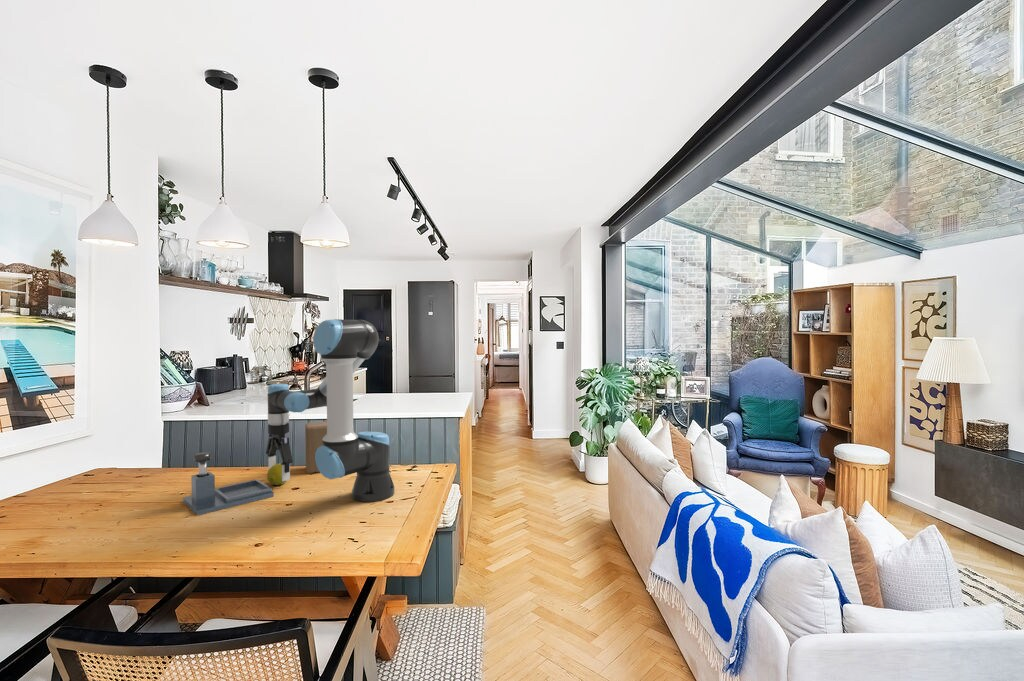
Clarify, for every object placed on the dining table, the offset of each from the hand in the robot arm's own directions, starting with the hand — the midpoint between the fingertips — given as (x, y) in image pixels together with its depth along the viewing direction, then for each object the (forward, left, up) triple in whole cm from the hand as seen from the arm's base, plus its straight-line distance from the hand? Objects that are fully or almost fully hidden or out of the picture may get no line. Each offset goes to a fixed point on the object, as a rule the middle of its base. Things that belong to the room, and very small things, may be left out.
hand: (279, 476), depth 188 cm
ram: (-4, +27, +5) cm, 28 cm away
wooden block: (+7, -19, -3) cm, 20 cm away
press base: (-4, +19, -3) cm, 20 cm away
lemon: (0, 0, -3) cm, 3 cm away
